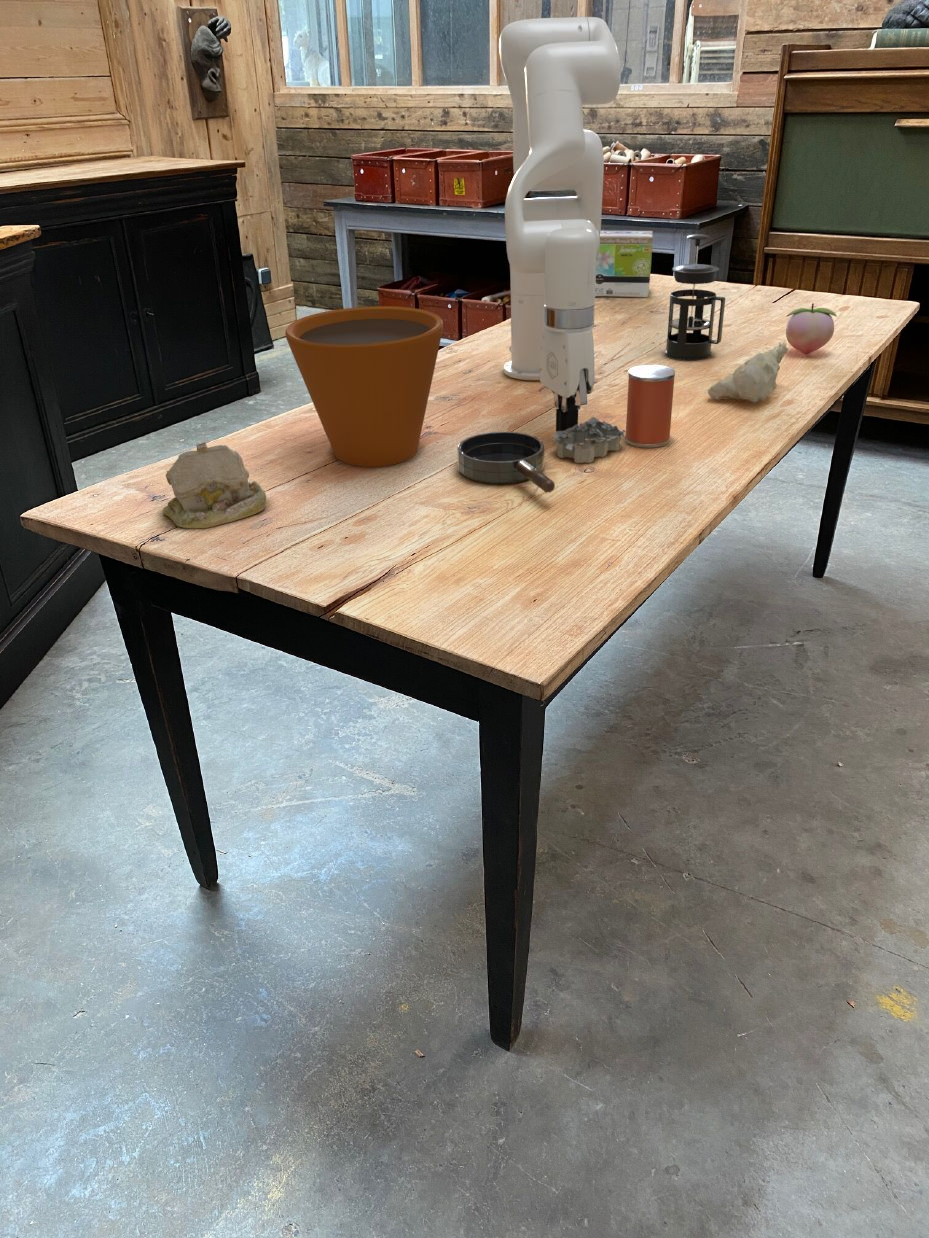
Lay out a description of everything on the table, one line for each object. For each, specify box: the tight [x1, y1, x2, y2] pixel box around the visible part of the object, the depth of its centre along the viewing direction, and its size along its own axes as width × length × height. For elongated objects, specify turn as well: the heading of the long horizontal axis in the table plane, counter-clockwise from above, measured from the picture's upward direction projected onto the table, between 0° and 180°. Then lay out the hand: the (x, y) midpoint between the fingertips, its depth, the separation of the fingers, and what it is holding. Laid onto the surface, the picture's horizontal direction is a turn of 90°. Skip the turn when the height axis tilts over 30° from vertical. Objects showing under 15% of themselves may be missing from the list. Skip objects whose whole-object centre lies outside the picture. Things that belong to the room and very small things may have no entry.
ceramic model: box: [162, 441, 267, 529], centre depth 131 cm, size 14×11×10 cm
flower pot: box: [284, 305, 444, 468], centre depth 147 cm, size 24×24×20 cm
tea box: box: [595, 230, 654, 299], centre depth 240 cm, size 15×10×15 cm, turn 81°
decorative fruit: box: [785, 303, 838, 355], centre depth 188 cm, size 9×8×10 cm
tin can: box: [624, 364, 676, 449], centre depth 148 cm, size 7×7×11 cm
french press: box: [664, 233, 726, 362], centre depth 187 cm, size 12×9×23 cm
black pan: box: [456, 431, 546, 485], centre depth 142 cm, size 13×13×4 cm
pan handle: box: [516, 460, 556, 493], centre depth 132 cm, size 10×2×2 cm, turn 23°
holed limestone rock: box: [707, 342, 789, 403], centre depth 166 cm, size 15×7×15 cm
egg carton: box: [552, 416, 626, 464], centre depth 147 cm, size 11×8×4 cm
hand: (566, 432), depth 152 cm, fingers closed
